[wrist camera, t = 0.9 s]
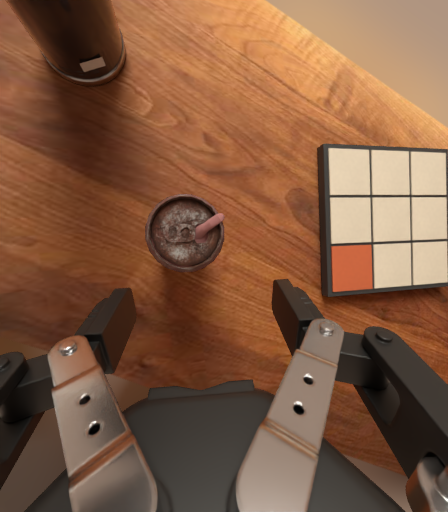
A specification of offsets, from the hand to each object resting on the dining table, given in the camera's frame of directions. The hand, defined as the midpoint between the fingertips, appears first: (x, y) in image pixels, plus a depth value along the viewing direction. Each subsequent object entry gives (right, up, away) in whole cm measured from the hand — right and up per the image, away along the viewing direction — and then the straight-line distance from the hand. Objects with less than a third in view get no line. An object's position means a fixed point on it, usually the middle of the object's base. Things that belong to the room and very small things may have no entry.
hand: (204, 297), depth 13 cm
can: (-4, +4, +18) cm, 19 cm away
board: (+26, +8, +23) cm, 36 cm away
